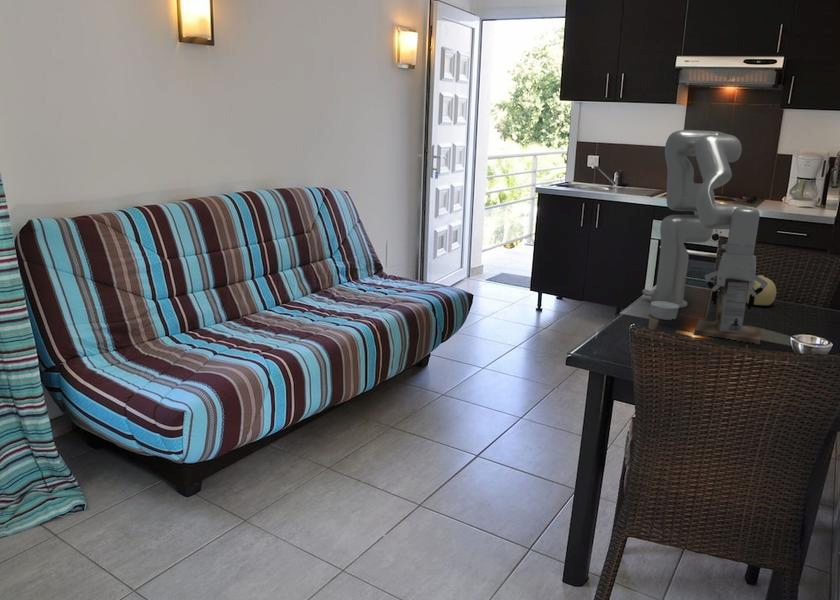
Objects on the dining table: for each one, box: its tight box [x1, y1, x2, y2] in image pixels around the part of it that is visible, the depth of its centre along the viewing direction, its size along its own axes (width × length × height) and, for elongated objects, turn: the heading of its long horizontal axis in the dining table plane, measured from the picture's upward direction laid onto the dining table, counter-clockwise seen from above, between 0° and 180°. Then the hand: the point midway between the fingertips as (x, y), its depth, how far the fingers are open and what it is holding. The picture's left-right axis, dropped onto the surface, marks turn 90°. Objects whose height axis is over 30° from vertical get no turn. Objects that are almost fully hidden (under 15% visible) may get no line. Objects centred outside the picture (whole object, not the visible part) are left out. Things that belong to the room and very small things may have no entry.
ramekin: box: [650, 301, 680, 321], centre depth 228 cm, size 9×9×4 cm
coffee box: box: [714, 279, 749, 334], centre depth 210 cm, size 9×6×16 cm
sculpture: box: [746, 274, 777, 306], centre depth 250 cm, size 12×12×11 cm
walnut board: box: [693, 319, 762, 346], centre depth 212 cm, size 18×14×2 cm
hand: (731, 305), depth 210 cm, fingers open, 9 cm apart
